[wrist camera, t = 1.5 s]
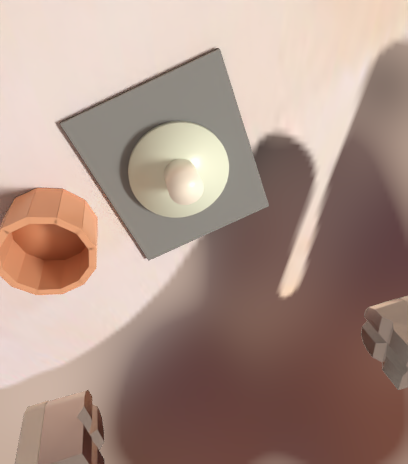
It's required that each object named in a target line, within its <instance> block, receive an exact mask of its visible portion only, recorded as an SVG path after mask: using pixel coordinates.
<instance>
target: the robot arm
mask: <svg viewBox="0 0 408 464" xmlns="http://www.w3.org/2000/svg"><path fill="white" fill-rule="evenodd" d="M364 317H365V318H366V319H367V322H366V323H365V324H364V325H363V326H362V333H361V336H362V340H363V343H364V345H365V347H366V349H367V351H368V352H369V353H370V355H371V356H372V357H373V358H375V359H377V360H379V361H381V362H382V367H383V369H382V370H383V371H384V373H385V374H386V375H387V376H388V378H389V379H390V380H391V382H392V383H393V384H394V385H395V387H396V388H397V389H398V390H400V389H403V388H407V387H408V296H405V297H402V298H399V299H394V300H390V301H387V302H384V303H381V304H378V305H375V306H371V307H368V308H367V310H366V311H365V315H364ZM103 443H104V428H103V421H102V416H101V413H100V410H99V408H98V407H97V406H95V405H93V404H92V395H91V394H90V392H89V391H88V390H87V391H83V392H79V393H75V394H72V395H68V396H65V397H61V398H57V399H54V400H50V401H46V402H42V403H39V404H36V405H32V406H29V407H27V409H26V411H25V413H24V416H23V422H22V428H21V433H20V438H19V443H18V448H17V454H16V459H15V464H104V458H103V456H102V455H101V453H100V451H99V450H100V449H101V447H102V445H103Z"/></svg>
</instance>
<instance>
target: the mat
mask: <svg viewBox="0 0 408 464" xmlns="http://www.w3.org/2000/svg"><path fill="white" fill-rule="evenodd" d="M171 121H189V122H193V123H197V124H199V125H202V126H204V127H205V128H207V129H209V130H210V131H211V132H212V133H213V134H214V135H215V136H216V137H217V138H218V139H219V141H220V142H221V143H222V145H223V146H224V148H225V151H226V153H227V156H228V161H229V175H228V179H227V183H226V185H225V188H224V189H223V191H222V193H221V194H220V196H219V197H218V198H217V199H216V200H215V202H214V203H212V204H211V205H210V206H209V207H207V208H206V209H204V210H203V211H201V212H199V213H196V214H194V215H191V216H187V217H179V218H172V217H165V216H161V215H158V214H155V213H153V212H151V211H150V210H148V209H146V208H145V207H144V206H143V205H142V204H141V203H140V202H139V201H138V200H137V198H136V197H135V195H134V193H133V192H132V189H131V186H130V182H129V176H128V164H129V159H130V155H131V153H132V151H133V149H134V147H135V145H136V144H137V142H138V141H139V140H140V138H141V137H142V136H143V135H145V134H146V133H147V132H148V131H150V130H151V129H153V128H154V127H156V126H158V125H161V124H163V123H167V122H171ZM60 125H61V127H62V128H63V130H64V131H65V133H66V134H67V136H68V137H69V139H70V140H71V142H72V144H73V145H74V147H75V148H76V150H77V151H78V153H79V154H80V156H81V157H82V159H83V160H84V162H85V164H86V165H87V167H88V168H89V170H90V171H91V173H92V174H93V176H94V177H95V179H96V180H97V182H98V184H99V185H100V187H101V188H102V190H103V191H104V193H105V194H106V196H107V197H108V199H109V200H110V202H111V204H112V205H113V207H114V208H115V210H116V211H117V213H118V214H119V216H120V217H121V219H122V220H123V222H124V224H125V225H126V227H127V228H128V230H129V231H130V233H131V234H132V236H133V237H134V239H135V240H136V242H137V244H138V245H139V247H140V248H141V250H142V251H143V253H144V254H145V256H146V257H147V259H148V260H151V259H153V258H155V257H158V256H160V255H162V254H164V253H167V252H169V251H171V250H173V249H175V248H178V247H180V246H182V245H184V244H186V243H189V242H191V241H193V240H195V239H197V238H200V237H202V236H204V235H206V234H208V233H211V232H213V231H215V230H217V229H219V228H222V227H224V226H226V225H228V224H230V223H233V222H235V221H237V220H239V219H241V218H244V217H245V216H248V215H250V214H252V213H255V212H257V211H259V210H261V209H263V208H266V207H268V206H269V204H268V201H267V198H266V195H265V191H264V188H263V185H262V182H261V179H260V176H259V172H258V169H257V166H256V163H255V160H254V156H253V153H252V150H251V147H250V144H249V140H248V137H247V134H246V131H245V128H244V124H243V121H242V118H241V115H240V112H239V109H238V105H237V102H236V99H235V96H234V93H233V89H232V86H231V83H230V80H229V77H228V74H227V70H226V67H225V64H224V61H223V58H222V54H221V51H220V49H219V48H218V49H216V50H214V51H212V52H209V53H207V54H205V55H203V56H201V57H199V58H197V59H195V60H192V61H190V62H188V63H186V64H184V65H182V66H180V67H178V68H175V69H173V70H171V71H169V72H167V73H165V74H163V75H161V76H158V77H156V78H154V79H152V80H150V81H148V82H146V83H144V84H141V85H139V86H137V87H135V88H133V89H131V90H129V91H127V92H124V93H122V94H120V95H118V96H116V97H114V98H112V99H110V100H107V101H105V102H103V103H101V104H99V105H97V106H95V107H93V108H91V109H88V110H86V111H84V112H82V113H80V114H78V115H76V116H74V117H71V118H69V119H67V120H65V121H63V122H61V123H60Z"/></svg>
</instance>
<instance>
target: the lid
mask: <svg viewBox="0 0 408 464" xmlns="http://www.w3.org/2000/svg"><path fill="white" fill-rule="evenodd" d="M228 175H229V161H228V156H227V153H226V151H225V148H224V146H223V145H222V143H221V142H220V141H219V139H218V138H217V137H216V136H215V135H214V134H213V133H212V132H211V131H210V130H209V129H207V128H205V127H204V126H202V125H199V124H197V123H193V122H189V121H171V122H167V123H163V124H161V125H158V126H156V127H154V128H153V129H151V130H150V131H148V132H147V133H146V134H145V135H143V136H142V137H141V138H140V140H139V141H138V142H137V144H136V145H135V147H134V149H133V151H132V153H131V155H130V159H129V164H128V176H129V182H130V186H131V189H132V192H133V193H134V195H135V197H136V198H137V200H138V201H139V202H140V203H141V204H142V205H143V206H144V207H145V208H146V209H148V210H150V211H151V212H153V213H155V214H158V215H161V216H165V217H172V218H179V217H187V216H191V215H194V214H196V213H199V212H201V211H203V210H204V209H206V208H207V207H209V206H210V205H211V204H212V203H214V202H215V200H216V199H217V198H218V197H219V196H220V194H221V193H222V191H223V189H224V188H225V185H226V183H227V179H228Z"/></svg>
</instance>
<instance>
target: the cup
mask: <svg viewBox="0 0 408 464" xmlns="http://www.w3.org/2000/svg"><path fill="white" fill-rule="evenodd" d="M97 237H98V231H97V216H96V215H95V213H94V212H93V211H92V209H91V208H90V206H89V205H88V203H87V202H86V201H85V200H84V199H82V198H80V197H78V196H76V195H74V194H72V193H70V192H68V191H66V190H64V189H54V188H36V189H33V190H31V191H29V192H27V193H25V194H23V195H20V196H18V197H16V198H15V199H14V201H13V202H12V204H11V206H10V207H9V209H8V211H7V213H6V214H5V216H4V218H3V220H2V223H1V225H0V276H1V277H2V278H3V279H4V280H5V281H6V282H7V283H8V284H9V285H11V286H12V287H14V288H17V289H20V290H23V291H26V292H29V293H32V294H35V295H49V294H64V293H66V292H68V291H70V290H72V289H75V288H77V287H79V286H81V285H83V284H85V282H86V281H87V280H88V278H89V277H90V276H91V274H92V273H93V272H94V270H95V269H96V263H97Z"/></svg>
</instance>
